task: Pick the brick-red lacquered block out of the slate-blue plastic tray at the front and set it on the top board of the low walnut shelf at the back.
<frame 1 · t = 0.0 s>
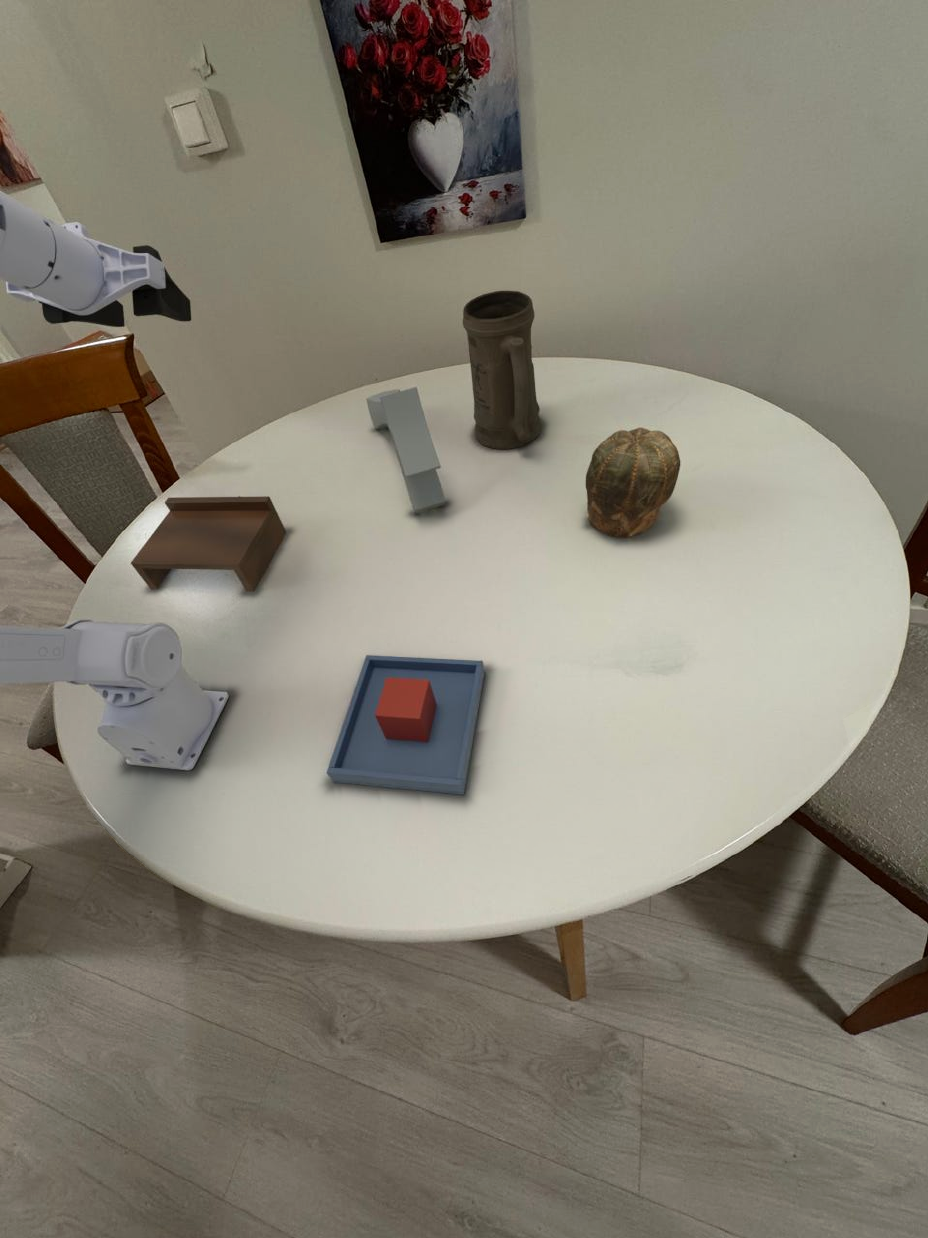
hand: (153, 313, 58), 32 cm above the table, tool tilted 50°, fingers open, 7 cm apart
block: (411, 721, 60), resting on tray
faucet: (409, 466, 92), on the table
beer stein: (515, 438, 93), on the table
tray: (412, 723, 60), on the table
shelf: (220, 560, 83), on the table
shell: (627, 519, 77), on the table
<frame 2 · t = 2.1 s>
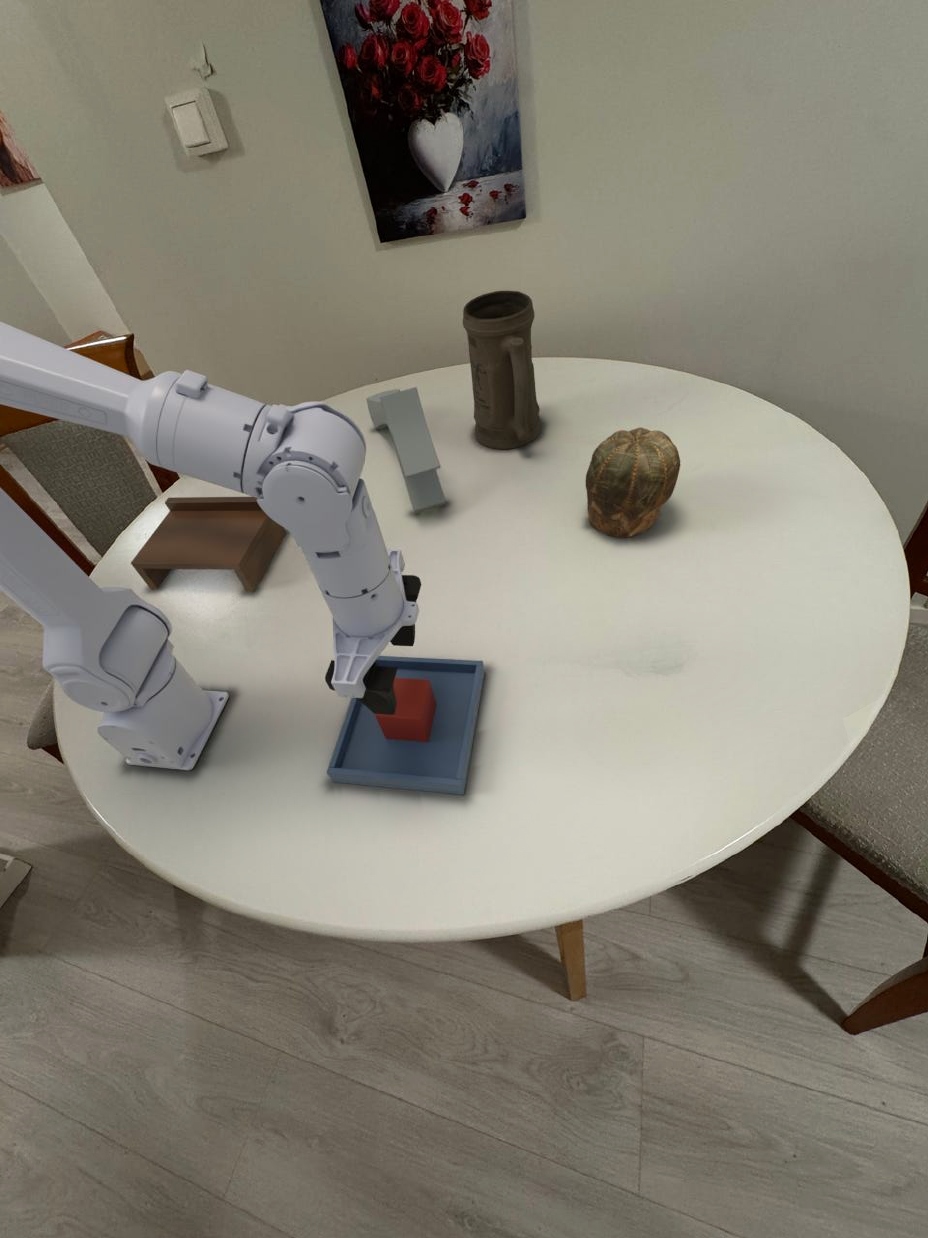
hand: (394, 675, 54), 8 cm above the table, tool pointing down, fingers open, 7 cm apart
nothing on the table moved.
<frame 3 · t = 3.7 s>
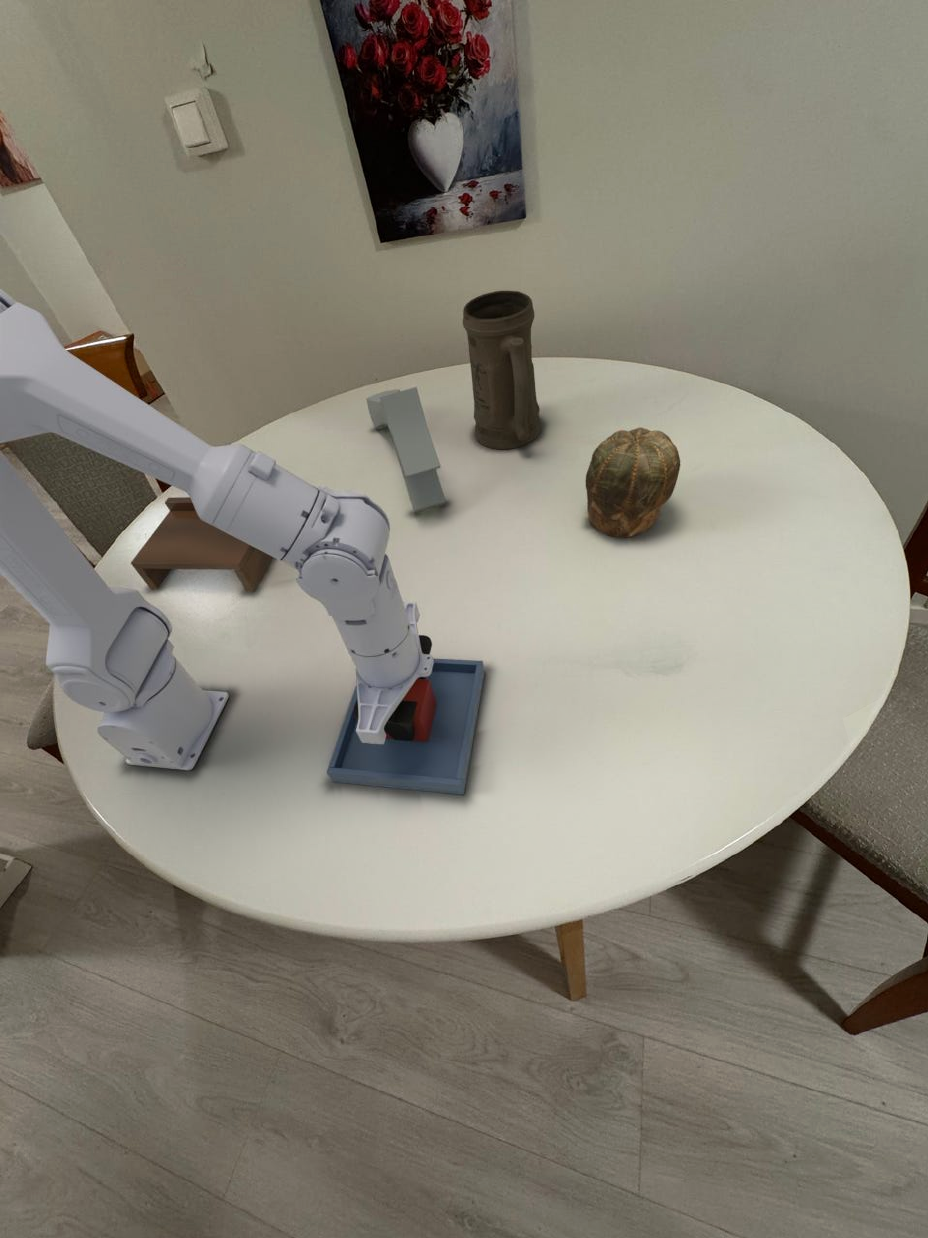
hand: (409, 715, 59), 2 cm above the table, tool pointing down, fingers closed on block, 4 cm apart
block: (411, 721, 60), resting on tray, touching gripper
everything else where it was.
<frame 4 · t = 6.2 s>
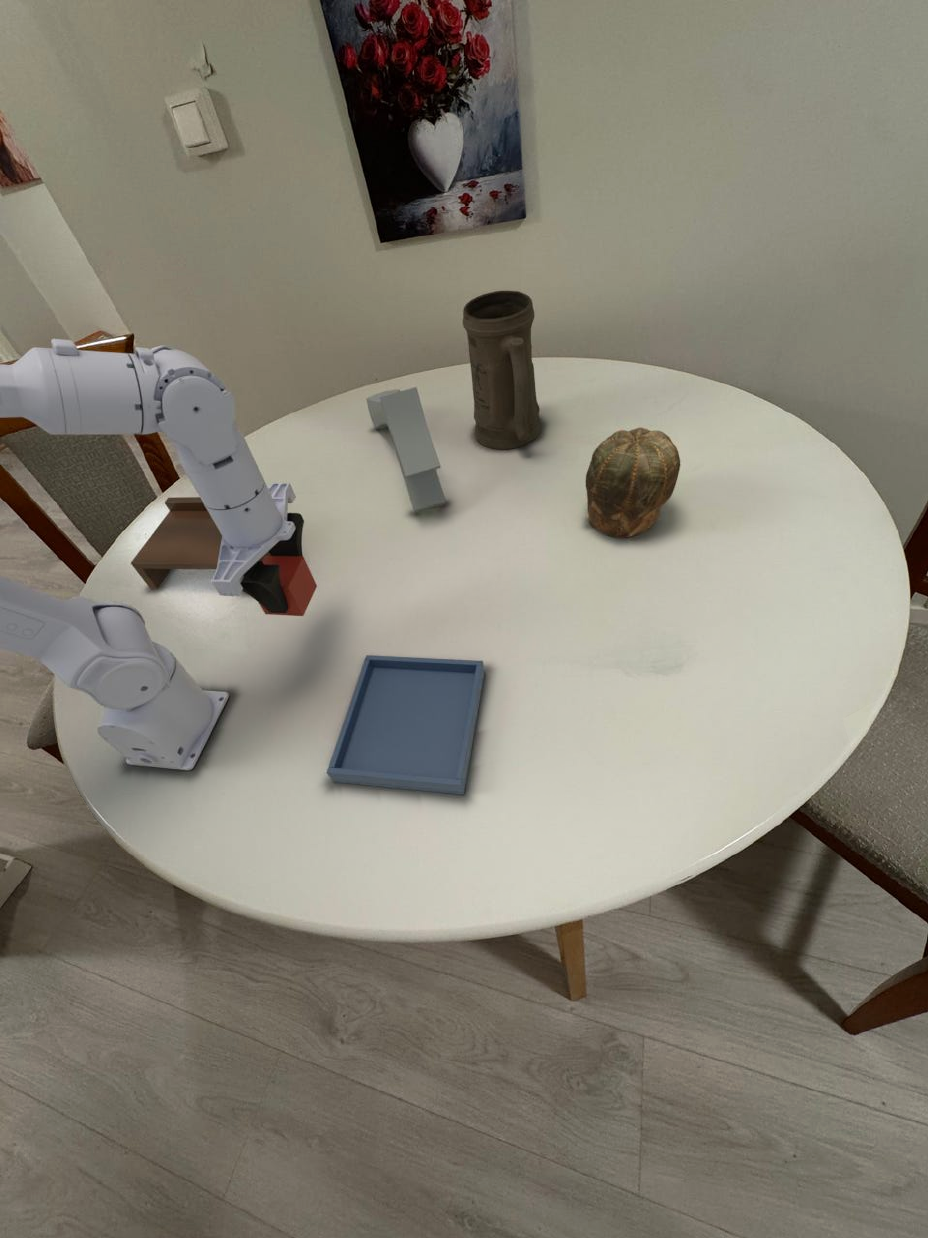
hand: (287, 593, 63), 9 cm above the table, tool pointing down, fingers closed on block, 4 cm apart
block: (291, 600, 64), point 8 cm above the table, touching gripper
everything else where it was.
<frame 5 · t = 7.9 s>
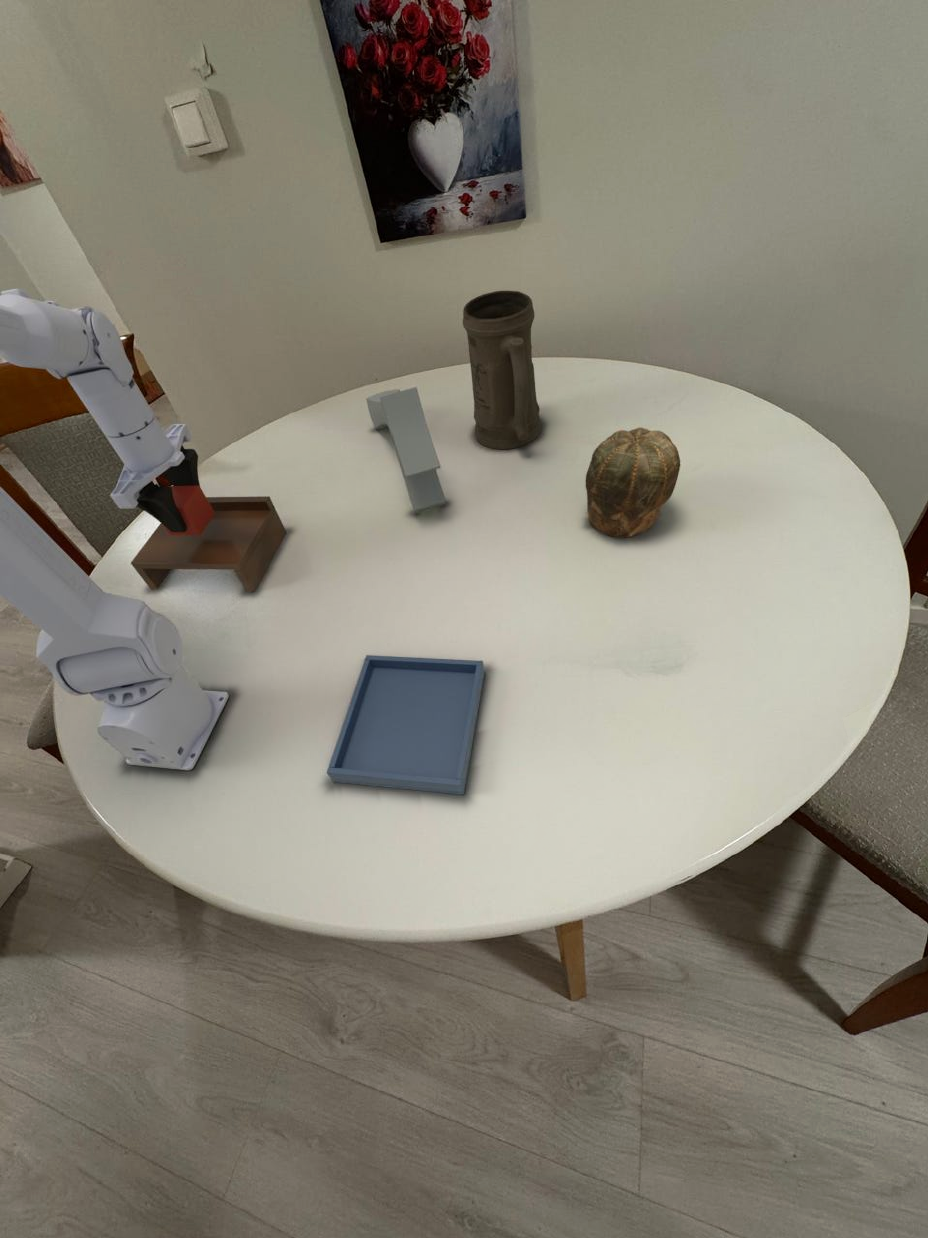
hand: (188, 517, 76), 8 cm above the table, tool pointing down, fingers closed on block, 4 cm apart
block: (192, 524, 77), point 7 cm above the table, touching gripper
everything else where it was.
when the fingers open (6 cm above the table, at t = 9.1 s): block stays where it is, resting on shelf.
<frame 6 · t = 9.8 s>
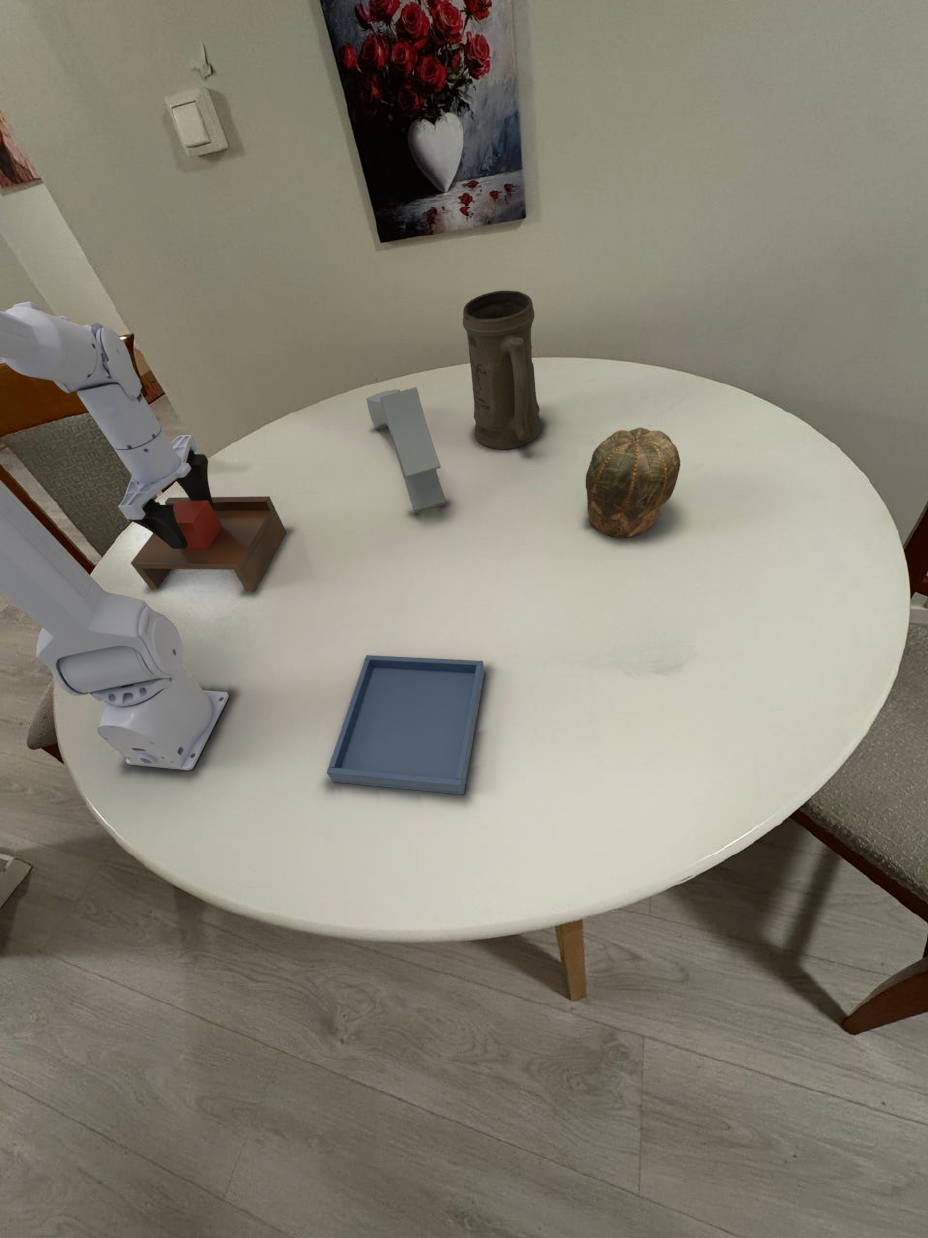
hand: (193, 527, 77), 7 cm above the table, tool pointing down, fingers open, 7 cm apart
block: (201, 537, 78), point 5 cm above the table, touching shelf
everything else where it was.
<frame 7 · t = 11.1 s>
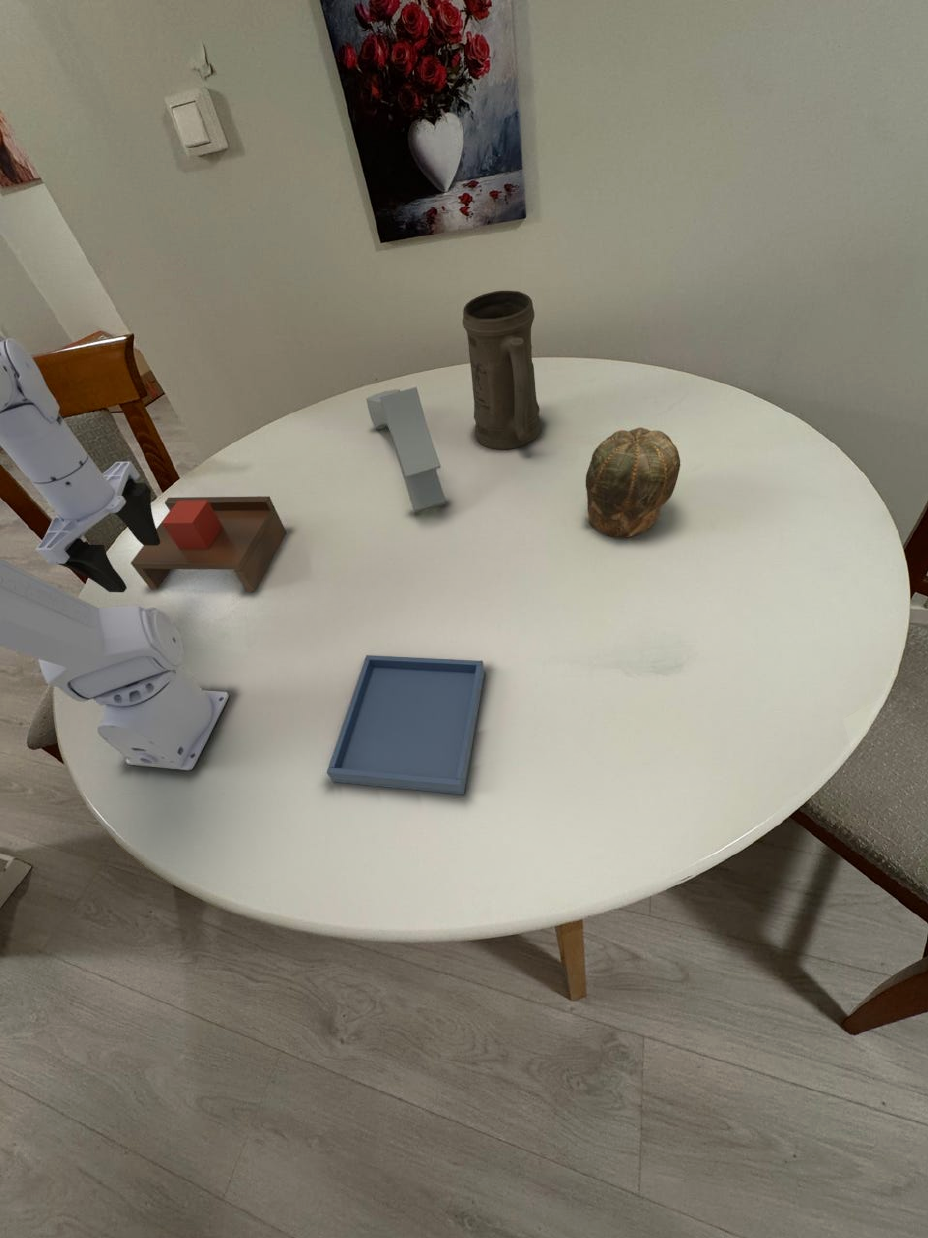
hand: (135, 566, 67), 10 cm above the table, tool pointing down, fingers open, 7 cm apart
nothing on the table moved.
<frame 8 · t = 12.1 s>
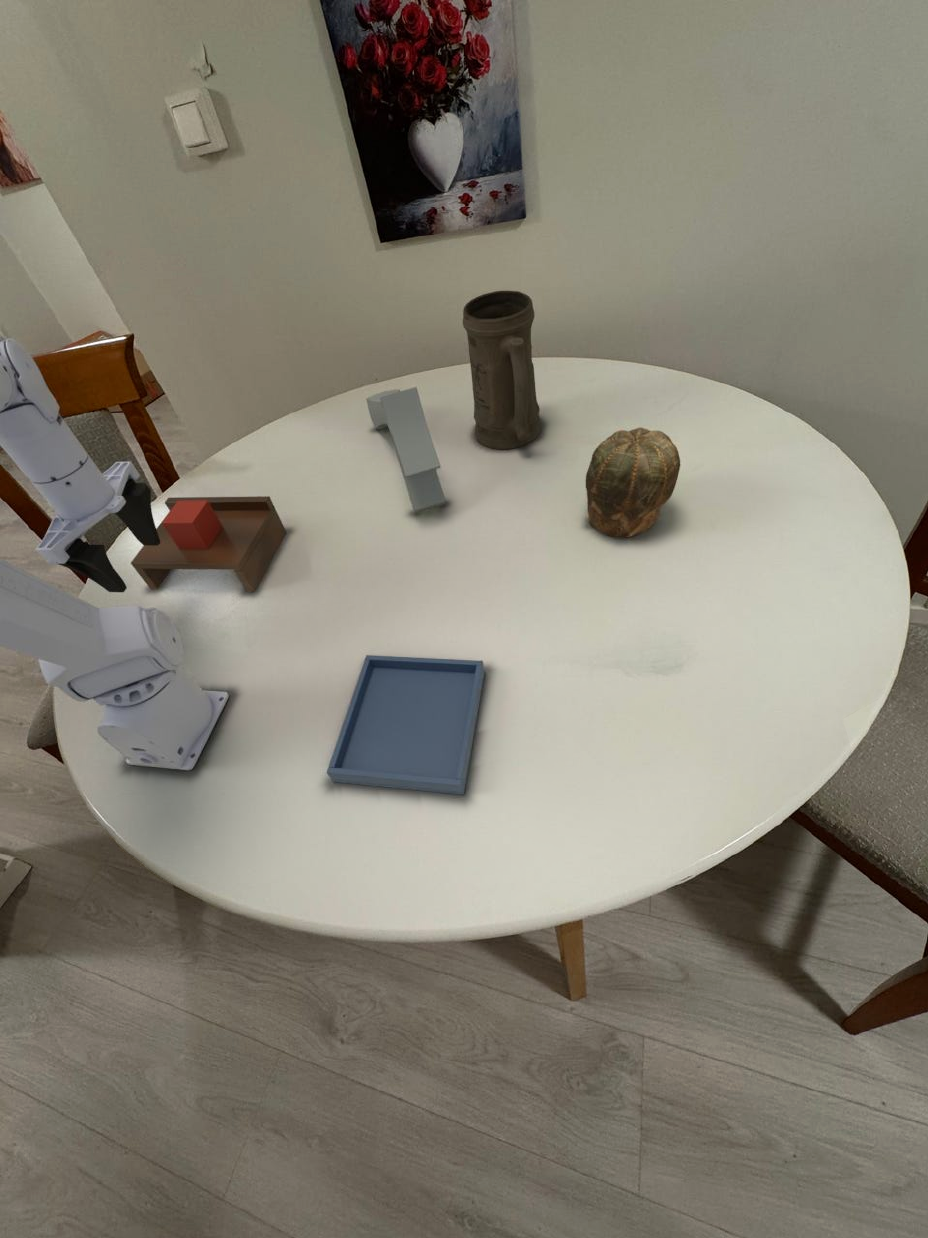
hand: (135, 566, 67), 10 cm above the table, tool pointing down, fingers open, 7 cm apart
nothing on the table moved.
at the end: block inside the target area on the shelf (1.0 cm from its centre), point 5.0 cm above the shelf's base; block tilted 0°; the gripper is holding nothing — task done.
